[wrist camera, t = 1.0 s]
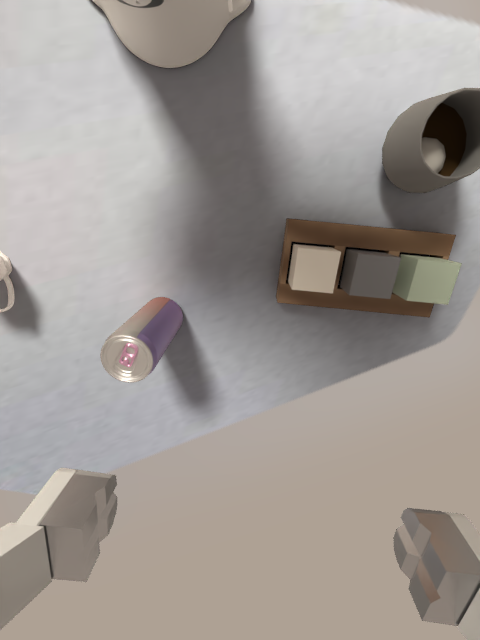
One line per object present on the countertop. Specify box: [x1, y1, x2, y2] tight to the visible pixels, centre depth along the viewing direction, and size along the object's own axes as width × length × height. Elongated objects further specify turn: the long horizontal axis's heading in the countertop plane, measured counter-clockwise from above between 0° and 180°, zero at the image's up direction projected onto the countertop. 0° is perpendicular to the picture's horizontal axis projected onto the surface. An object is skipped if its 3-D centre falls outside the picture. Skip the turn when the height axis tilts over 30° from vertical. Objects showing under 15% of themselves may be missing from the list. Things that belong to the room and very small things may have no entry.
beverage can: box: [101, 297, 183, 382], centre depth 39 cm, size 6×6×15 cm
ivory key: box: [288, 244, 341, 293], centre depth 38 cm, size 5×5×4 cm
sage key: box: [392, 254, 462, 305], centre depth 38 cm, size 5×5×4 cm
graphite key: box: [339, 249, 401, 299], centre depth 38 cm, size 5×5×4 cm
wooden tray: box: [276, 219, 456, 317], centre depth 41 cm, size 11×21×3 cm, turn 85°
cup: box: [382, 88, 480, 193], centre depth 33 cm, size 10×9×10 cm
